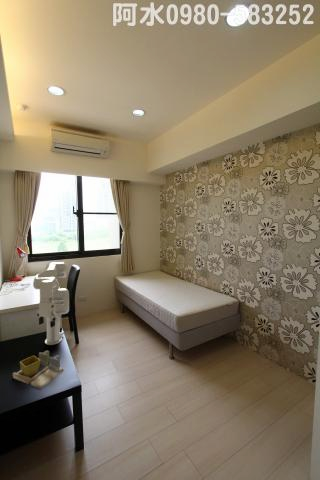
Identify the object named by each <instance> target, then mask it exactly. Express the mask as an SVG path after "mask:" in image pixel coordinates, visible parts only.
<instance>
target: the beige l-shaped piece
mask: <svg viewBox="0 0 320 480" xmlns="http://www.w3.org/2000/svg"><path fill="white" fill-rule="evenodd" d="M60 362H61V356H60V355H58V354H56V355H54V356H53V357H52V356H49V364H48V365H49V369H48V370H47V371H46V372H44V373H43V374H42V375H40V376H39V377H38V378H36V379H35V380H34V381H32V382H31V383H30V385H31V386H33V387H36V388H38V389H43V388H44V387H45V386H46V385H48V384H49V382H51V381H53V380H54V379H55V378H56V377H58V375H60V373H62V372H63V371H64V368H63V367H61V363H60Z"/></svg>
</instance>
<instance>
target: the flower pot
mask: <svg viewBox="0 0 320 480" xmlns="http://www.w3.org/2000/svg"><path fill="white" fill-rule="evenodd" d="M38 358H39V357H37V356H35V355H32V356H30V357H29V356H28V357H27V358H25V359H23V360H21V361H19V366H20V370H21V371H22V375H24V376H26V377H29V378H32V377H33V376H35V375H36V374H38V371H39V369H40V366H41V365H40V360H39V359H38Z"/></svg>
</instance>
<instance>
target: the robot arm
mask: <svg viewBox="0 0 320 480" xmlns="http://www.w3.org/2000/svg"><path fill="white" fill-rule="evenodd" d="M67 276H68V267H67V264H66V263H65V262H63V261H62V262H61V261H60V262H58V261H57V262H49V263H48V264H46V267H45V269H44V270H43V271H41V272H39V273H37V274H36V275H35V277H34V278H33V282H32V283H33V284H32V286H33V288H34V289H35V290H39V304H38V309H37V310H36V311H35V313H36V315H37V319H38V325H42V324H44V321H45V320H44V318H46V339H45V340H44V343H45V344H46V345H48V346H53V345H57V344H59V343H60V342H62V341H63V337H62V335H64V334H65V331H62V332H60V331H61V330H60V329H61V326H60V325H61V323H60V322H61V321H60V319H61V318H60V317H59V315H66V314H68V313H69V312H70V291H69V290H68V288H60V282H59V281H58V279H61V278H67ZM59 301H60V302H59Z"/></svg>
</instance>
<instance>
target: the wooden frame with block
mask: <svg viewBox="0 0 320 480" xmlns="http://www.w3.org/2000/svg"><path fill="white" fill-rule="evenodd" d="M49 357H50V351H49V350H44V351H43V352H40V351H39V352H38V357H37V358H38V359H39V360H40V366H44V367H45V368H43V369H42V370H40V371H39V372H37V373H36V374H34V375H32V376H31V377H26V376H25V375H24V374H23V373H22V371H21V369H20V370H19V371H17V372H15V371H14V372H13V373H12V378H13V379H14V380H17V381H20V382H23V383H25V384H28V385H29V384H30V385H31V382H32V381H34V380H35V379H36V378H38V377H39V376H40V375H42V374H43V373H44V372H46V371H47V370H48V369H49Z"/></svg>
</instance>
